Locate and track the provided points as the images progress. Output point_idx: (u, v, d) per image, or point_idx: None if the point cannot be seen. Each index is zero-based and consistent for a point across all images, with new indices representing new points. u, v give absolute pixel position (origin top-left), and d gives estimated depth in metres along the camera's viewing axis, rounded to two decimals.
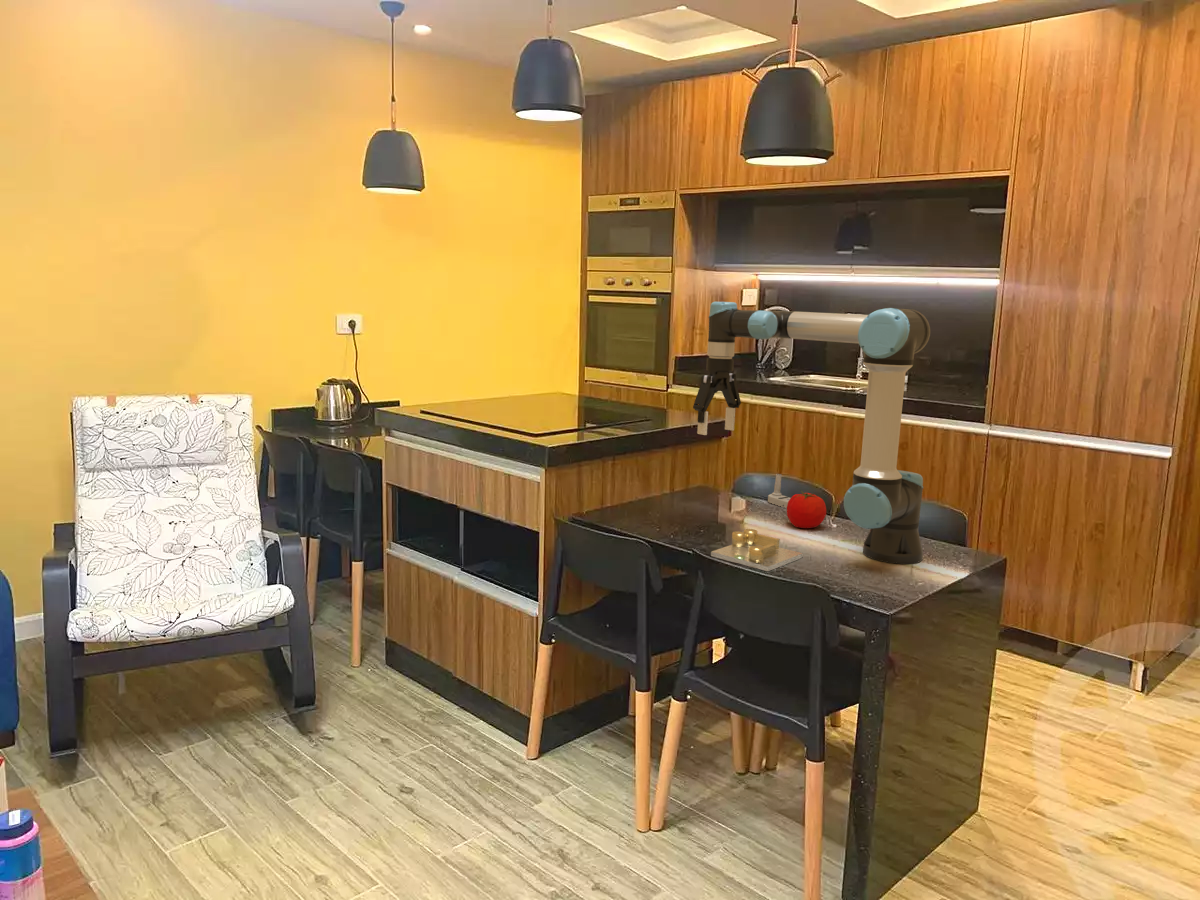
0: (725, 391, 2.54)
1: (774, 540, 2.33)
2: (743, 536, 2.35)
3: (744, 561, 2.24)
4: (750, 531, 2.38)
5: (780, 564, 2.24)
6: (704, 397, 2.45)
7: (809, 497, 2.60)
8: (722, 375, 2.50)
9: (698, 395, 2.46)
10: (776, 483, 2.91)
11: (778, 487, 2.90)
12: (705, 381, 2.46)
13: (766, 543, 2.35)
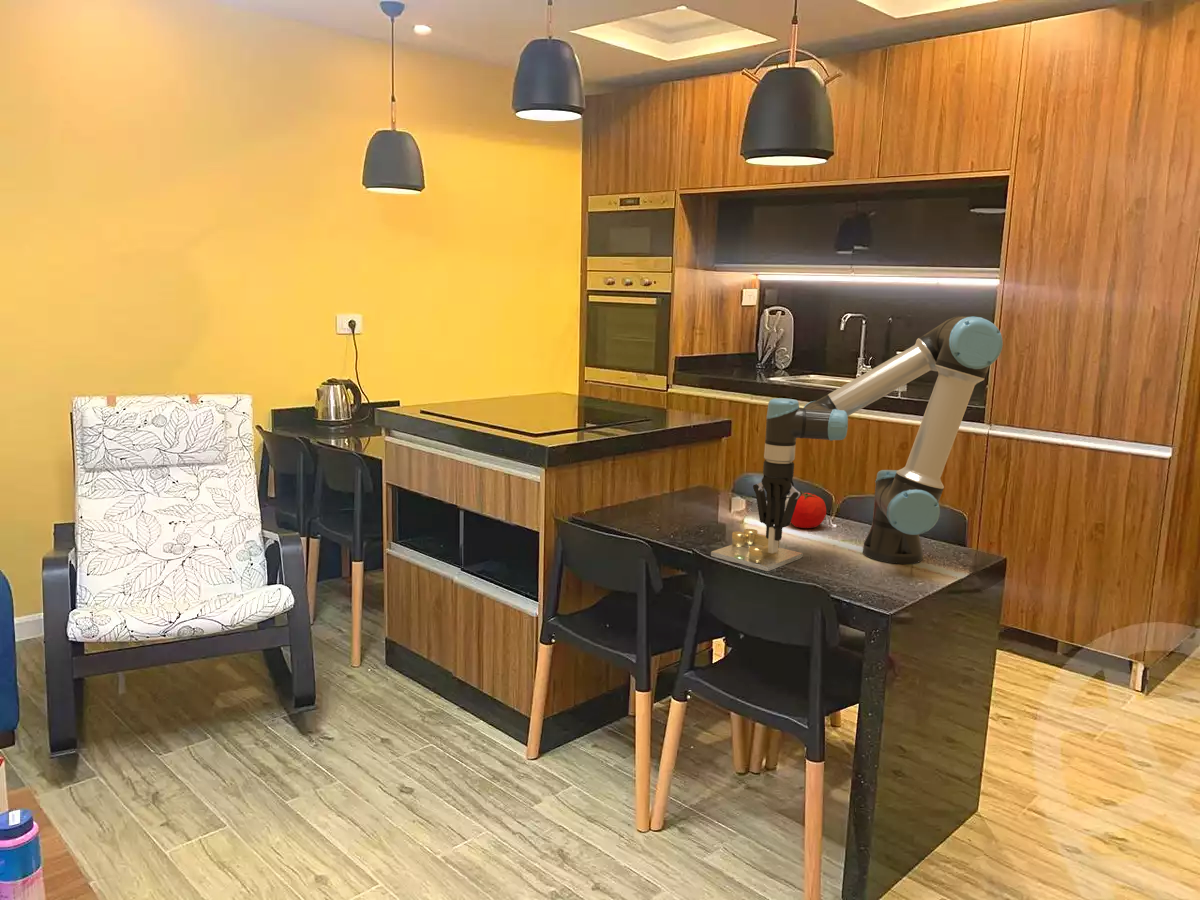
0: None
1: None
2: (743, 536, 2.35)
3: (744, 561, 2.24)
4: (750, 531, 2.38)
5: (780, 564, 2.24)
6: (759, 508, 2.26)
7: (809, 497, 2.60)
8: (775, 480, 2.23)
9: None
10: None
11: None
12: None
13: (766, 543, 2.35)
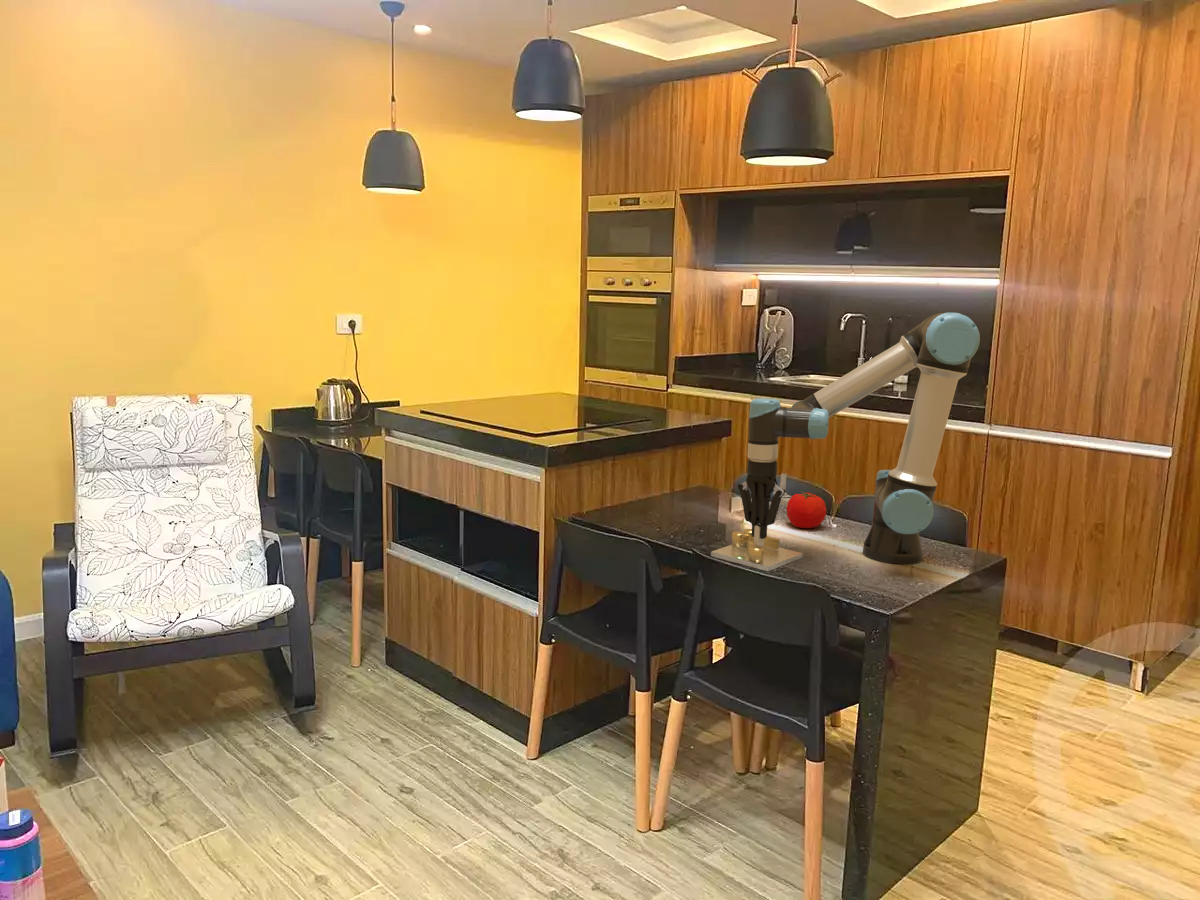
0: None
1: (774, 540, 2.33)
2: (743, 536, 2.35)
3: (744, 561, 2.24)
4: (750, 531, 2.38)
5: (780, 564, 2.24)
6: (744, 507, 2.29)
7: (809, 497, 2.60)
8: (759, 479, 2.26)
9: None
10: (781, 482, 2.92)
11: (783, 487, 2.91)
12: None
13: (766, 543, 2.35)
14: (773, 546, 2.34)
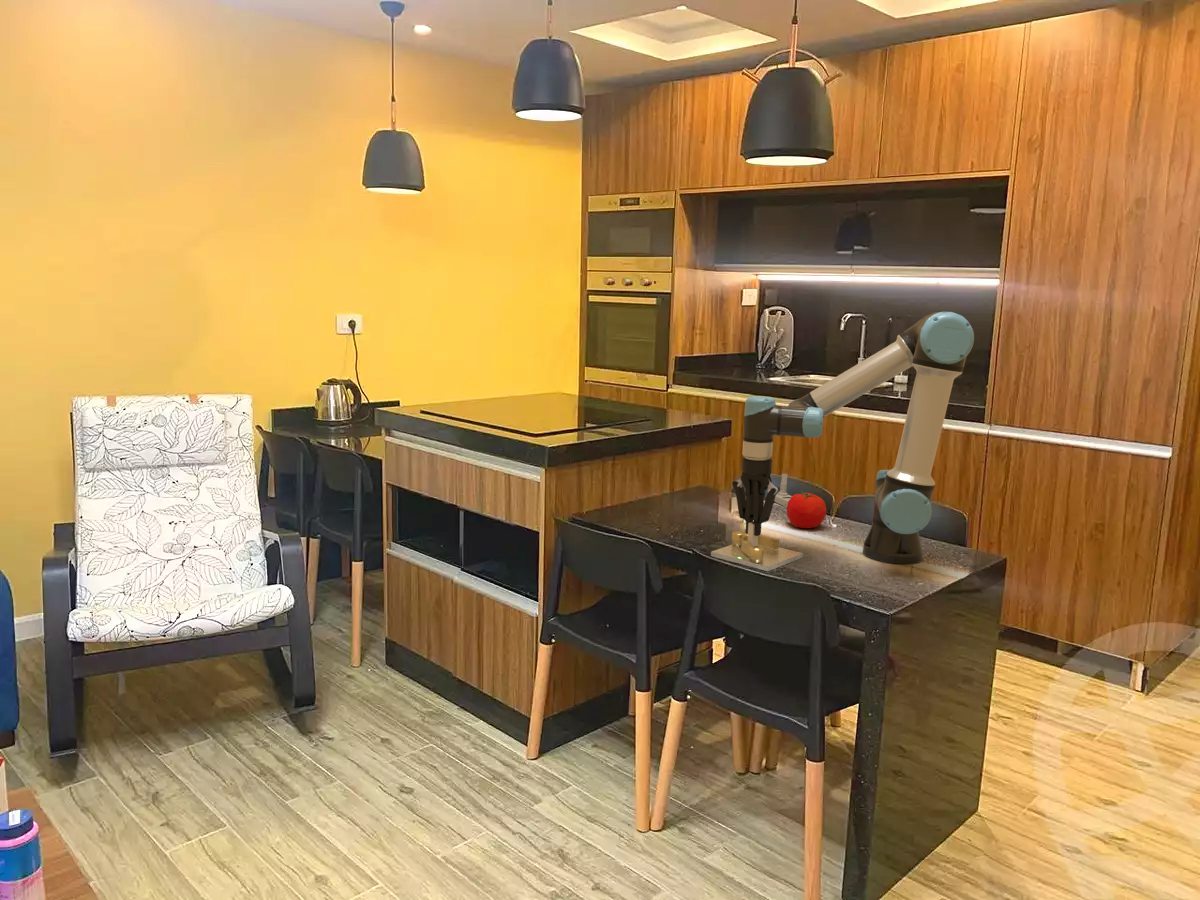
0: None
1: (774, 540, 2.33)
2: (743, 536, 2.35)
3: (744, 561, 2.24)
4: None
5: (780, 564, 2.24)
6: (738, 504, 2.31)
7: (809, 497, 2.60)
8: (753, 477, 2.27)
9: None
10: (782, 482, 2.92)
11: (783, 487, 2.92)
12: None
13: (766, 543, 2.35)
14: (773, 546, 2.34)
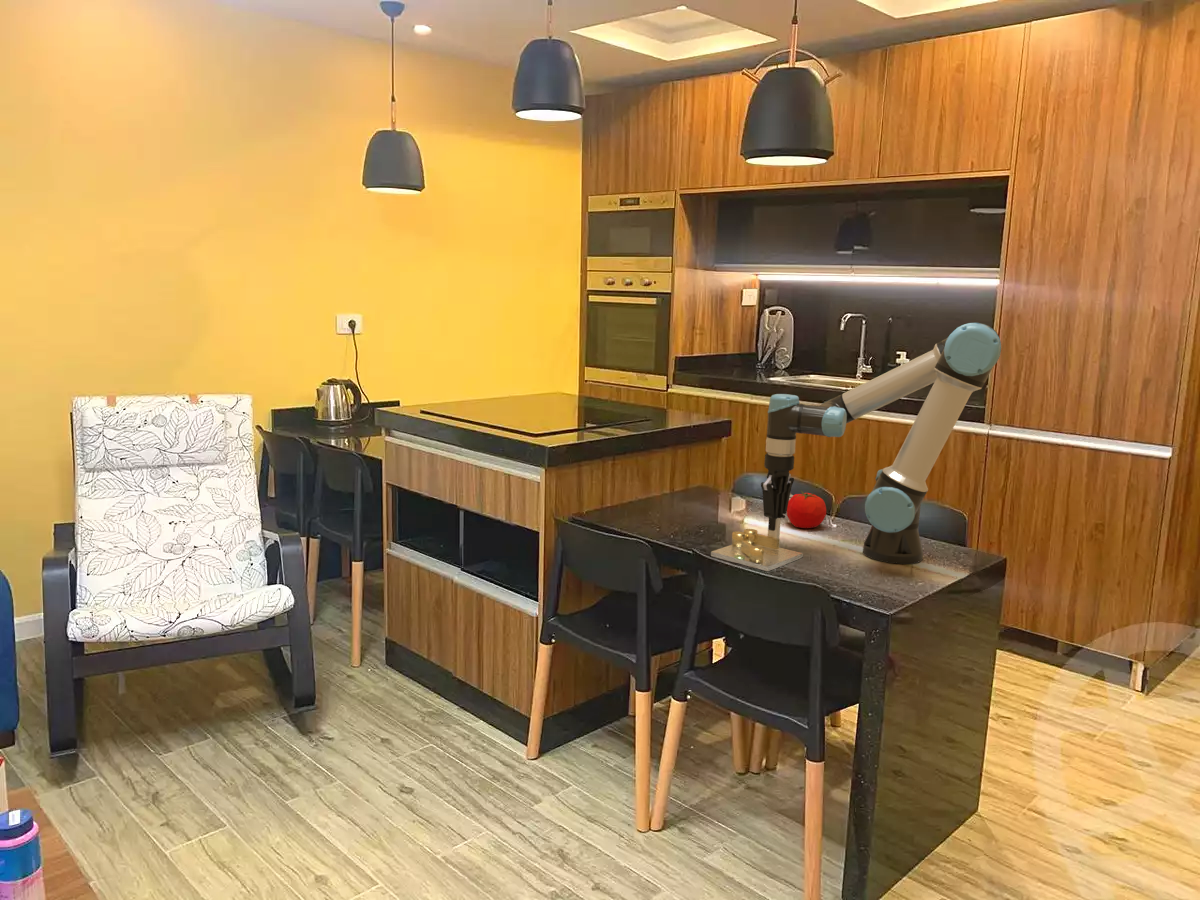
0: None
1: (774, 540, 2.33)
2: (743, 536, 2.35)
3: (744, 561, 2.24)
4: (750, 531, 2.38)
5: (780, 564, 2.24)
6: (772, 505, 2.30)
7: (809, 497, 2.60)
8: (781, 473, 2.32)
9: (765, 504, 2.31)
10: None
11: None
12: (766, 489, 2.29)
13: (766, 543, 2.35)
14: (773, 546, 2.34)
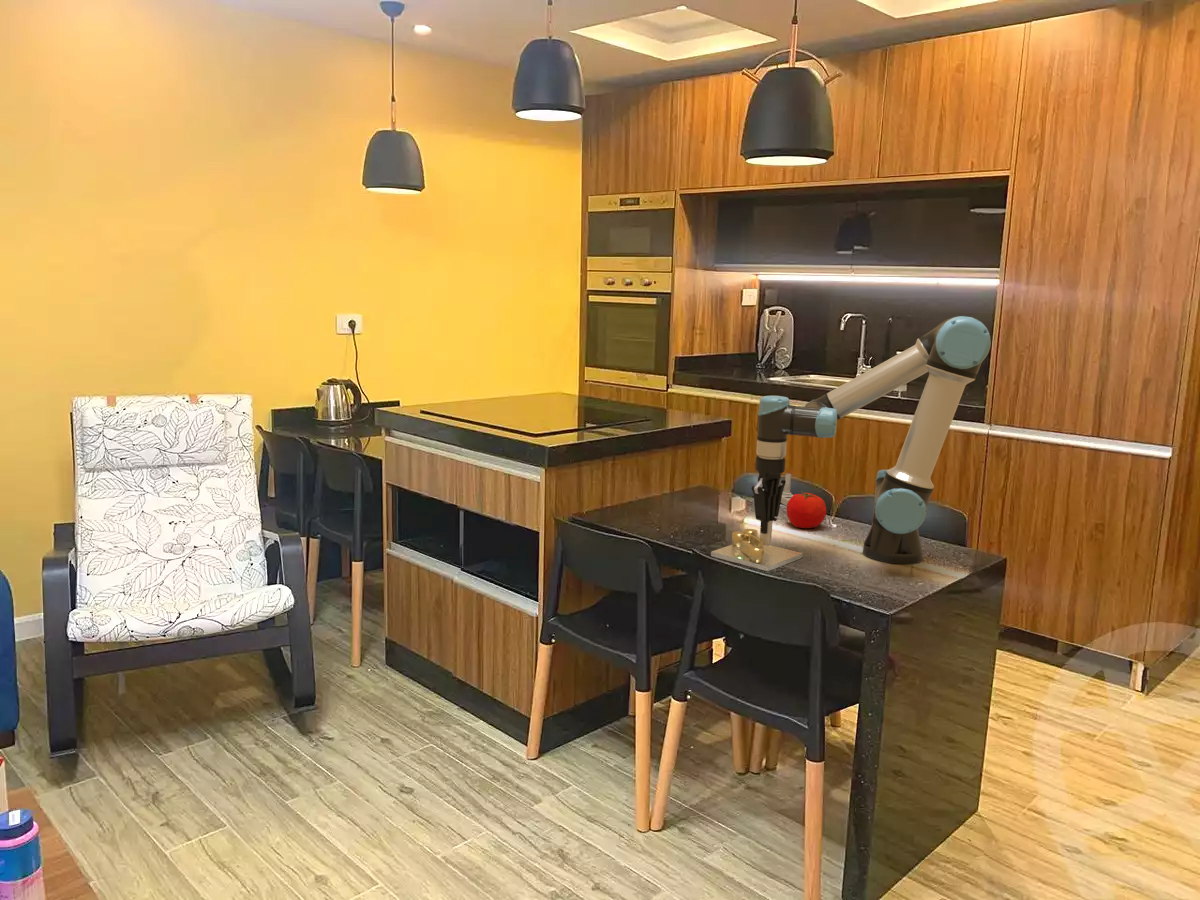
0: None
1: (758, 542, 2.31)
2: (743, 536, 2.35)
3: (744, 561, 2.24)
4: (748, 531, 2.38)
5: (780, 564, 2.24)
6: (763, 508, 2.28)
7: (809, 497, 2.60)
8: (773, 476, 2.29)
9: (756, 507, 2.28)
10: None
11: (787, 486, 2.92)
12: (757, 493, 2.26)
13: (754, 544, 2.34)
14: None
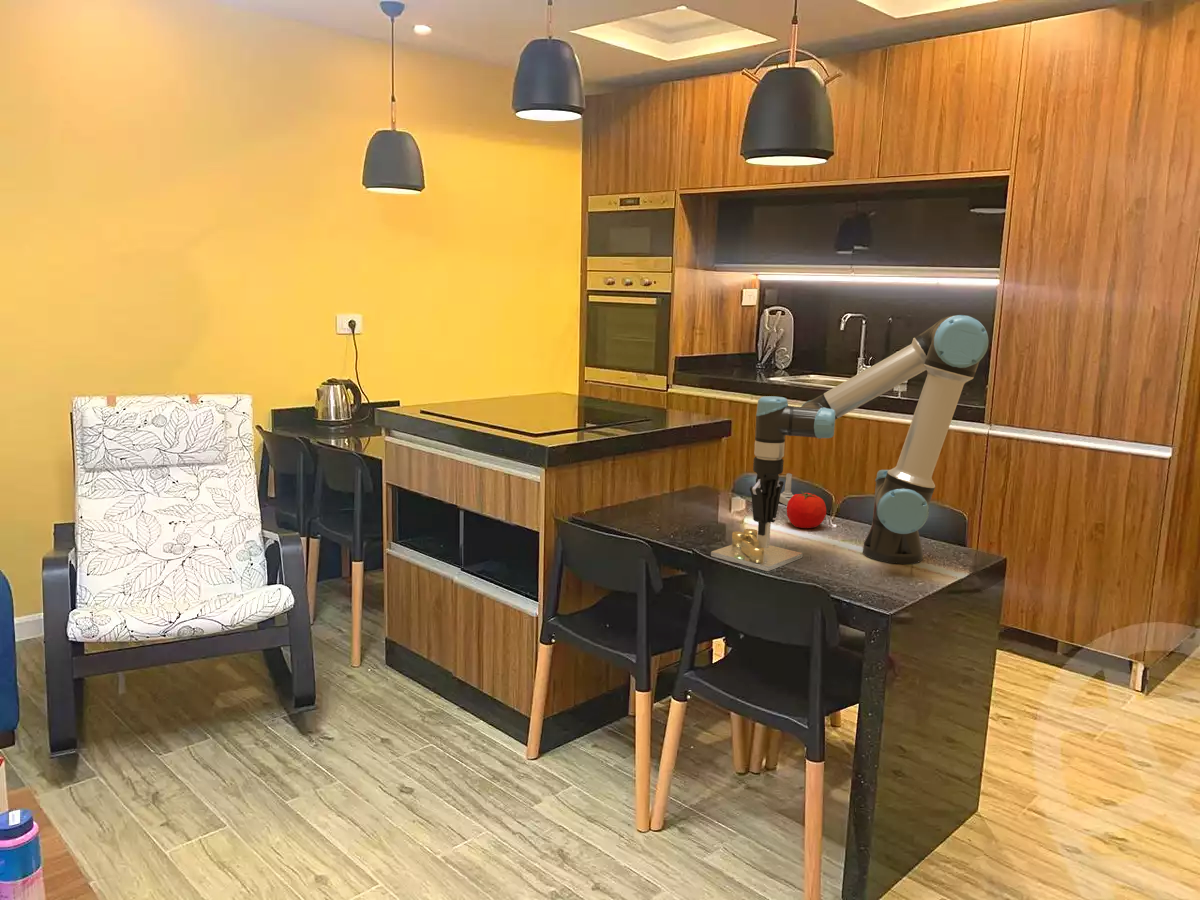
0: None
1: (753, 541, 2.31)
2: (743, 536, 2.35)
3: (744, 561, 2.24)
4: (748, 531, 2.38)
5: (780, 564, 2.24)
6: (761, 509, 2.26)
7: (809, 497, 2.60)
8: (771, 477, 2.28)
9: (754, 508, 2.27)
10: (786, 482, 2.92)
11: (788, 486, 2.92)
12: (755, 494, 2.25)
13: (751, 544, 2.34)
14: None
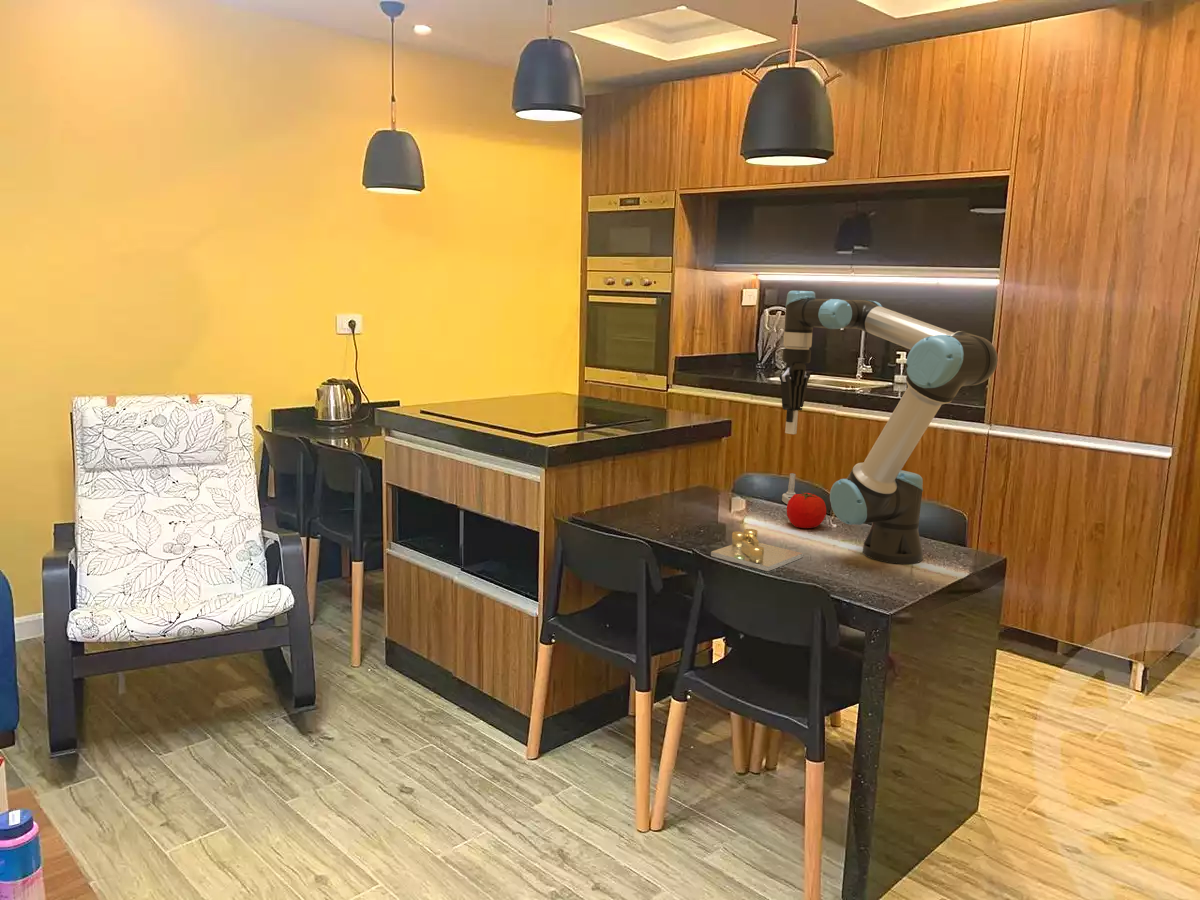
0: None
1: (753, 541, 2.31)
2: (743, 536, 2.35)
3: (744, 561, 2.24)
4: (748, 531, 2.38)
5: (780, 564, 2.24)
6: (790, 396, 2.42)
7: (809, 497, 2.60)
8: (799, 366, 2.43)
9: (783, 395, 2.43)
10: (789, 482, 2.93)
11: (791, 486, 2.92)
12: (784, 381, 2.40)
13: (751, 544, 2.34)
14: None
